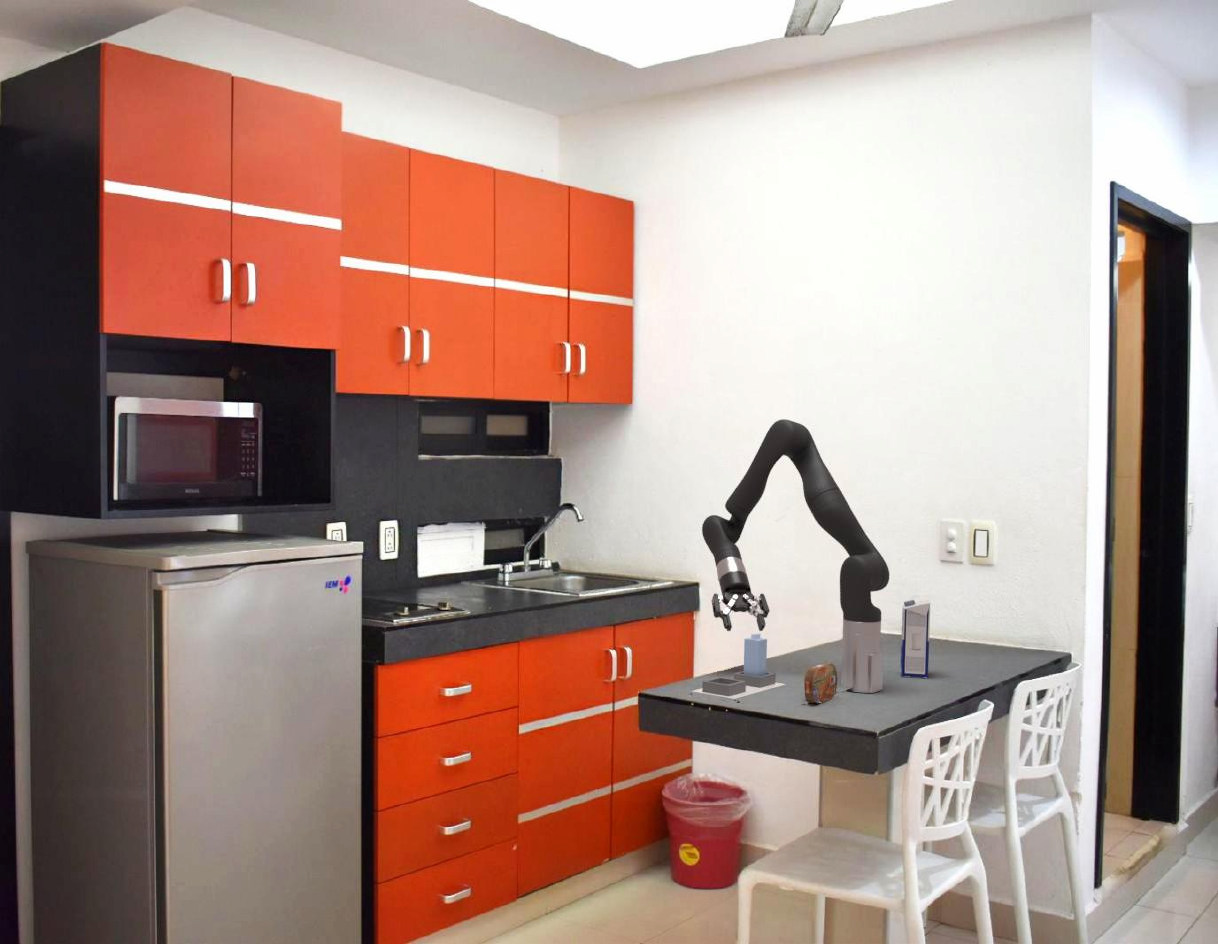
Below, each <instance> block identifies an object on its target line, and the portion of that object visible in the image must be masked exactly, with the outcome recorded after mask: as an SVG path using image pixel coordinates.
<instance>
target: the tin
mask: <svg viewBox="0 0 1218 944" xmlns="http://www.w3.org/2000/svg"><path fill="white" fill-rule="evenodd" d="M803 680H804V681H803V682H804V683H803V684H804V697H805V698H804V699H805V700H806V701H808V702H812V703H811V704H814V703H817V705H819V704H818V703H819V702H824V703H826V702H827V700H828V701H830V700H832V699H833V698H834V697H835V694H836V693H837V688H838V674H837V668H836V666H835V664H833V663H831V662H830V663H824V662H823V663H820V664H817V665H815V666H812V667H809V668H808V669H807V670H806V672H805V674H804V679H803ZM831 698H832V699H831ZM829 699H830V700H829ZM825 701H826V702H825Z"/></svg>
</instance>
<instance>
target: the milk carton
mask: <svg viewBox="0 0 1218 944" xmlns="http://www.w3.org/2000/svg"><path fill="white" fill-rule="evenodd" d="M901 611H902V614H901V617H902V618H901V642H900V643H901V647H900V671H901V672H900V677H901V676H910V677H928V678H929V660H930V659H929V656H930V655H929V651H930V627H931V626H930V623H931V601H930V600H929V599H927V600H920V601H919V600H918V601H915V599H910V600H906V601H904V602H903V605H902V610H901ZM910 677H909V678H910Z"/></svg>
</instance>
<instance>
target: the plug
mask: <svg viewBox="0 0 1218 944" xmlns="http://www.w3.org/2000/svg"><path fill="white" fill-rule="evenodd" d="M750 634H751V635H750V637H747V638H744V646H743V649H744V650H743V671H744V674H746V675H752V676H758V677H760V676H763V675H766V672H767V653H768V639H767V638H763V637H762V635H761V634H762V633H758V632H755V633H750ZM761 637H762V638H761Z"/></svg>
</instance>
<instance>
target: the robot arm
mask: <svg viewBox="0 0 1218 944" xmlns="http://www.w3.org/2000/svg"><path fill="white" fill-rule="evenodd" d="M783 456H786V457H787V458H789V460H790V461H791V462H792V464H793V466H794V467H795V469H796V470H797V472H798V473H799V476H800V478H801V481H802V488H803V497H804V501H805V503H806V506H807V507H808V509H809V510H810V513H811V515H812V516H813V518H814V520H815V522H816V523H817V524H818V526H820V528H821V529H823V530H824V532H826V533H827V534H828V535H829V536H830V537H831V538H833V540H835V541H836V542H837V543H839V545H840V546H842V548H843V549H844V550H845V552H846V553H847V554H848V557H846V558H845V559H844V561H843V562H842V564H841V567H840V572H839V602H840V608H841V610H842V611H841V612H842V637H841V638H842V641H841V642H842V643H841V674H840V675H841V676H840V685H841V687H844V688H847V689H846V691H847V692H855V693H866V694H867V693H869V694H874V693H877V692H880V691H883V683H884V682H883V679H884V678H883V677H884V674H883V673H884V672H883V671H884V651H882V650H881V639H882V638H881V636H882V635H881V634H882V633H881V632H882V611H881V609H880V608H879V607H877V606H875V605H874V604H873V602H872V592H878V591H882V590H883V589H885V588H886V587H887V585H888V584H889V581H890V570H889V566H888V564H887V562H886V560H885V559H884V557H883V556H882V554H881V553H880V552H879V550H878V549H877V548H876V546H875V545H874V543H873V542H872V541H871V540H870V538H869V536H868V535H867V534H866V532H865V530H864V528H863V527H862V526H861V524H860V521H859V519H857V517H856V515H855V513H854V512H853V510H852V509H851V506H850V505H849V502H848V501H847V499H846V497H845V496H844V493H842V491H841V488H840V487H839V486H838V484H837V483H836V481H835V479H834V477H833V476H832V474H831V472H830V470H829V469H828V467H827V466H826V464H825V462H824V460H823V459H822V456H821V454H820V452H819V449H818V446H816V443H815V440H814V438H813V435H812V434H811V431H810V430H809V429H808V428H807V427H806V426H805V425H803V424H802V423H799V422H797V421H794V420H793V421H792V420H790V419H778V420H776V421H775V422H773V424H772V425H771V426H770V428H769V429H768V431H767V432H766V434H765V436H764V438H763V440H762V442H761V444H760V446H759V448H758V450H757V452H756V454H755V456H754V458H753V460H752V462H751V463H750V465H749V467H748V469H747V471H746V472H745V474H744V476H743V477H742V479H741V480H740V482H739V483H738V485H737V486H736V487H735V489H734V490H733V491H732V493H731V494H730V496H729V497H728V499H727V500H726V502H725V504H724V507H725V510H726V511H727V512H728V513H729V514H730V515H731V517H730V518H729V519H727V518H724V517H722V516H719V515H715V514H711V515H709V516H707V517H706V518H705V520H704V521H703V522H702V527H701V532H702V533H701V534H702V537H703V540H704V542H705V544H706V545H707V547H708V549H709V552H710V553H711V554H712V556H713V558H714V563H715V567H716V575H717V581H718V582H719V587H720V590H721V595H719V594H718V593H714V594H713V596H712V598H711V606H712V612H713V616H714V618H715V619H717V618H720V619H721V620H722V624H723V628H724V629H725V630H726V631H727V632H731V630H732V628H733V626H732V625H733V624H732V621H731V615H730V613H731V612H734V613H740V612H741V613H748V614H749V615H751V616H753V617H755V619H756V624H757V627H758V630H759V632H763V631H764V629H765V627H766V621H765V618H766V619H767V618H768V616H769V614H770V612H771V610H770V607H769V604H768V602H767V599H766V596H765V594H764V593H760V594H759V595H754V594H753V593H752V589H751V585H750V582H749V578H748V574H747V569H746V567H745V564H744V563H743V559H742V555H741V551H740V549H739V547H738V546H737V542H738V541H739V540H740V538H741V536H742V533H743V531H744V528H745V525H746V522H747V519H748V518H749V516H750V514H751V513H752V512H753V510H754V509H755V508H756V506H758V505H757V504H758V503H759V502H760V501H761V499H762V497H763V495H764V493H765V490H766V487H767V483H768V479H769V476H770V474H771V471H772V469H773V468H774V466H775V465H776V463H778V461H779V460H780V459H781V458H782V457H783ZM721 602H722V603H723V604H724V605H725V606H726V607H725V608H724V610H722V609H721Z"/></svg>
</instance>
